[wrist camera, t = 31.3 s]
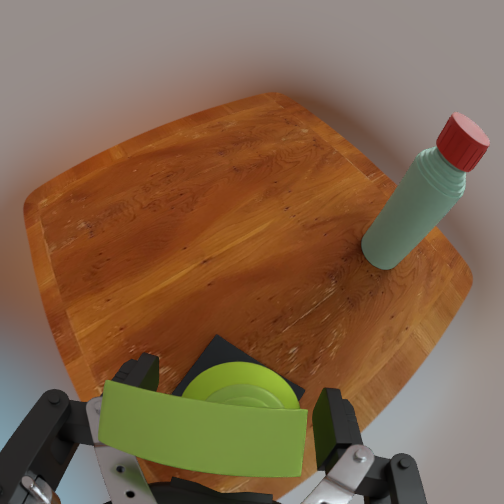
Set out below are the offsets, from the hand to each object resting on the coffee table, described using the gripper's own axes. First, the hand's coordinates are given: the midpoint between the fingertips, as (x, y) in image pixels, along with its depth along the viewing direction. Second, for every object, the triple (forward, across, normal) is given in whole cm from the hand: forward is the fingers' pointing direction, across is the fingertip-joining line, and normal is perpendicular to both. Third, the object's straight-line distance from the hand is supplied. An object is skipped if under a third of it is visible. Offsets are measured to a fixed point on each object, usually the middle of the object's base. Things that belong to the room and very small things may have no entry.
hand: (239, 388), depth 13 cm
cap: (+11, +14, +15) cm, 24 cm away
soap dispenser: (+8, 0, -10) cm, 13 cm away
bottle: (+23, +14, +4) cm, 27 cm away
